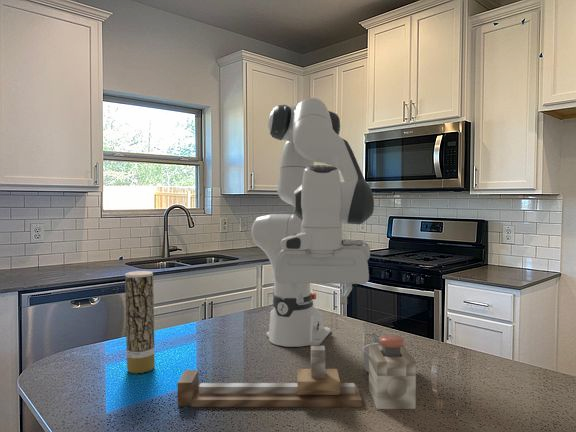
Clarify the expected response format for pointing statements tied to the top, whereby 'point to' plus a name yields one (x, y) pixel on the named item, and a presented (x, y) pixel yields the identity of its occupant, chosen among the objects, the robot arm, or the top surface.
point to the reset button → (391, 345)
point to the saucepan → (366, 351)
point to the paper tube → (139, 321)
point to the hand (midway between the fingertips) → (321, 303)
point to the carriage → (318, 376)
